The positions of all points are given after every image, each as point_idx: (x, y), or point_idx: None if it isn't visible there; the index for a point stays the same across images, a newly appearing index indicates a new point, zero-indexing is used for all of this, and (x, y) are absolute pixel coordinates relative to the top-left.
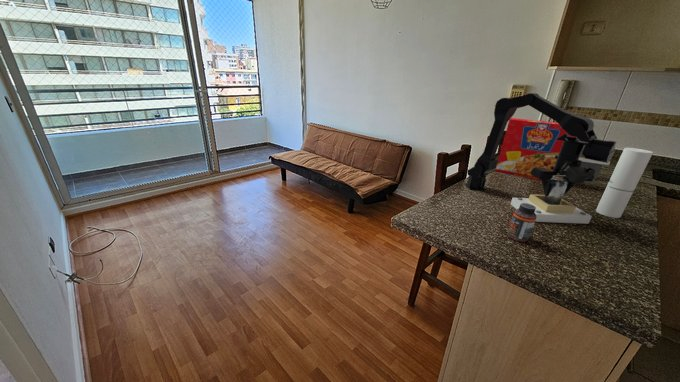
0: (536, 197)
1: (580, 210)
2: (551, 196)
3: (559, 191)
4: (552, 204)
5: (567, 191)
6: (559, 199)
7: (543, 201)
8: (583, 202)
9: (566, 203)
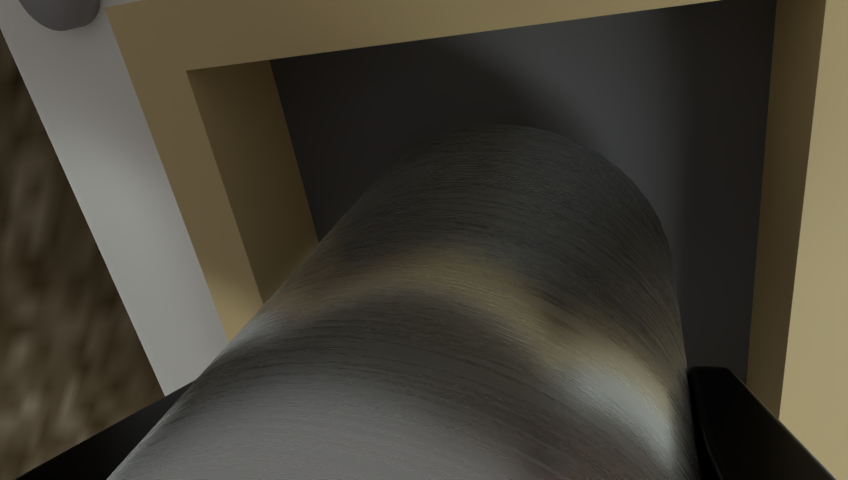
0: (809, 434)
1: (68, 134)
2: (641, 297)
3: (430, 377)
4: (568, 142)
5: (87, 444)
6: (410, 194)
7: (820, 211)
8: (12, 456)
9: (236, 198)
